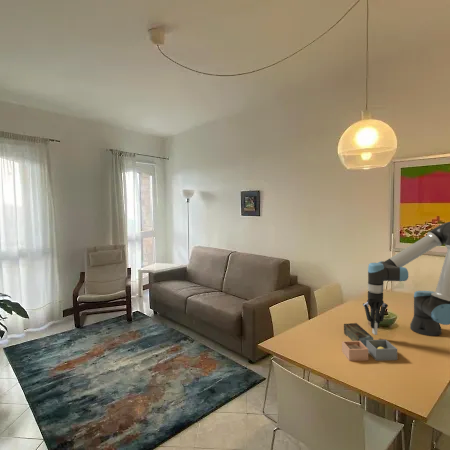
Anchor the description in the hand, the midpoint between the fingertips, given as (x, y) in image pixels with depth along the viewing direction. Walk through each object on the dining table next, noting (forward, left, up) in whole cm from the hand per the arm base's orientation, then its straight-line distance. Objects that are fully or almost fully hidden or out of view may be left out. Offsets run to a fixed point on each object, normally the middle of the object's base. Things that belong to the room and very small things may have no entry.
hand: (374, 333), depth 166 cm
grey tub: (+6, +18, -3) cm, 19 cm away
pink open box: (+19, +18, -3) cm, 26 cm away
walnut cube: (+19, +18, -3) cm, 26 cm away
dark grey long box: (+9, 0, -4) cm, 10 cm away
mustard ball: (+6, +18, -3) cm, 19 cm away
